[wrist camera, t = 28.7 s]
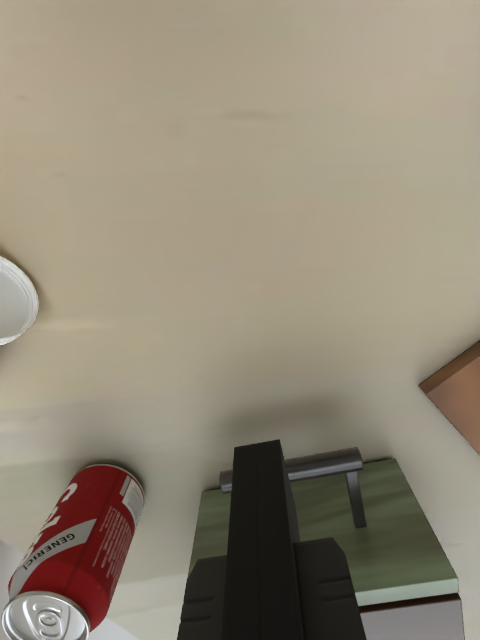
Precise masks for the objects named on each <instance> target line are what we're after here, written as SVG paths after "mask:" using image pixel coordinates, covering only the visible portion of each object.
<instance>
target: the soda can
mask: <svg viewBox="0 0 480 640" xmlns="http://www.w3.org/2000/svg"><path fill="white" fill-rule="evenodd" d="M144 500H145V498H144V492H143V489H142V486H141V485H140V483H139V482H138V480H137V479H136V478H135V477H134V476H133V475H132V474H131V473H129V472H128V471H126V470H124V469H122V468H120V467H118V466H114V465H110V464H95V465H91V466H87V467H85V468H83V469H81V470H80V471H79V472H78V473H76V474H75V476H74V477H73V478H72V480H71V481H70V483H69V485H68V486H67V488H66V490H65V491H64V493H63V494H62V496H61V498H60V499H59V501H58V503H57V504H56V506H55V507H54V509H53V511H52V512H51V514H50V516H49V517H48V519H47V520H46V522H45V524H44V525H43V527H42V529H41V530H40V532H39V533H38V535H37V537H36V538H35V540H34V542H33V543H32V545H31V546H30V548H29V550H28V551H27V553H26V554H25V556H24V558H23V559H22V561H21V563H20V564H19V566H18V567H17V569H16V571H15V572H14V574H13V576H12V577H11V580H10V581H9V585H8V589H7V599H8V604H7V605H6V607H5V608H4V610H3V613H2V616H1V624H2V628H3V630H4V632H5V634H6V636H7V637H8V638H9V639H10V640H87V639H88V636H89V633H90V632H91V631H92V630H94V629H95V628H96V627H97V626H98V625H99V624H100V623H101V622H102V621H103V619H104V618H105V616H106V614H107V612H108V609H109V606H110V603H111V600H112V597H113V594H114V591H115V588H116V585H117V582H118V580H119V577H120V574H121V571H122V568H123V565H124V562H125V559H126V556H127V553H128V550H129V547H130V544H131V541H132V538H133V536H134V533H135V530H136V527H137V524H138V521H139V518H140V515H141V512H142V509H143V506H144Z"/></svg>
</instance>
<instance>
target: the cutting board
mask: <svg viewBox="0 0 480 640" xmlns="http://www.w3.org/2000/svg"><path fill="white" fill-rule="evenodd" d="M419 387H420V388H421V390H422V391H423V392H424V393H425V394H426V396H427V397H428V398H429V399H430V400H431V401H432V402H433V403H434V404H435V406H436V407H437V408H438V409H439V410H440V411H441V412H442V413H443V414H444V416H445V417H446V418H447V419H448V420H449V421H450V422H451V423H452V424H453V426H454V427H455V428H456V429H457V430H458V431H459V432H460V433H461V435H462V436H463V437H464V438H465V439H466V440H467V441H468V442H469V443H470V445H471V446H472V447H473V448H474V449H475V450H476V451H477V452H478V453H479V455H480V341H479V342H478V343H476V344H475V345H473V346H472V347H471V348H469V349H468V350H467V351H465V352H464V353H463V354H461V355H460V356H458V357H457V358H456V359H454V360H453V361H452V362H450V363H449V364H447V365H446V366H445V367H443V368H442V369H441V370H439V371H438V372H436V373H435V374H434V375H432V376H431V377H430V378H428V379H427V380H426V381H424V382H423V383H421V384H420V385H419Z"/></svg>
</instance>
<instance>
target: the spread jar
mask: <svg viewBox="0 0 480 640" xmlns="http://www.w3.org/2000/svg"><path fill="white" fill-rule="evenodd" d="M38 310H39V300H38V295H37V292H36V290H35V287H34V285H33V283H32V282H31V280H30V279H29V277H28V276H27V275H26V274H25V273H24V272H23V271H22V270H21V269H20V268H19V267H18V266H16V265H15V264H14V263H12V262H11V261H9V260H8V259H6V258H4V257H2V256H0V345H4V344H6V343H9V342H11V341H13V340H15V339H16V338H18V337H19V336H20V335H22V334H23V333H24V332H25V331H26V330H27V329H29V327H30V326H31V325H32V324H33V323H34V321H35V319H36V317H37V314H38Z"/></svg>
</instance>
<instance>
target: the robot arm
mask: <svg viewBox="0 0 480 640" xmlns="http://www.w3.org/2000/svg"><path fill="white" fill-rule="evenodd" d="M177 640H367V639H366V635H365V631H364V627H363V623H362V619H361V615H360V611H359V607H358V603H357V599H356V595H355V591H354V587H353V583H352V579H351V575H350V571H349V567H348V563H347V559H346V555H345V553H344V551H343V550H342V549H341V548H340V546H339V545H338V544H337V542H336V541H335V540H334V538H333V537H329V538H322V539H316V540H309V541H303V542H300V535H299V528H298V520H297V513H296V506H295V501H294V497H293V493H292V489H291V485H290V481H289V477H288V473H287V468H286V464H285V460H284V456H283V452H282V448H281V444H280V439H278V440H273V441H268V442H262V443H257V444H251V445H246V446H240V447H235V448H234V461H233V475H232V490H231V504H230V518H229V532H228V547H227V555H222V556H216V557H209V558H203V559H198V560H197V562H196V564H195V566H194V567H193V569H192V571H191V573H190V575H189V577H188V578H187V583H186V589H185V595H184V605H183V607H182V613H181V623H180V625H179V631H178V637H177Z"/></svg>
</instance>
